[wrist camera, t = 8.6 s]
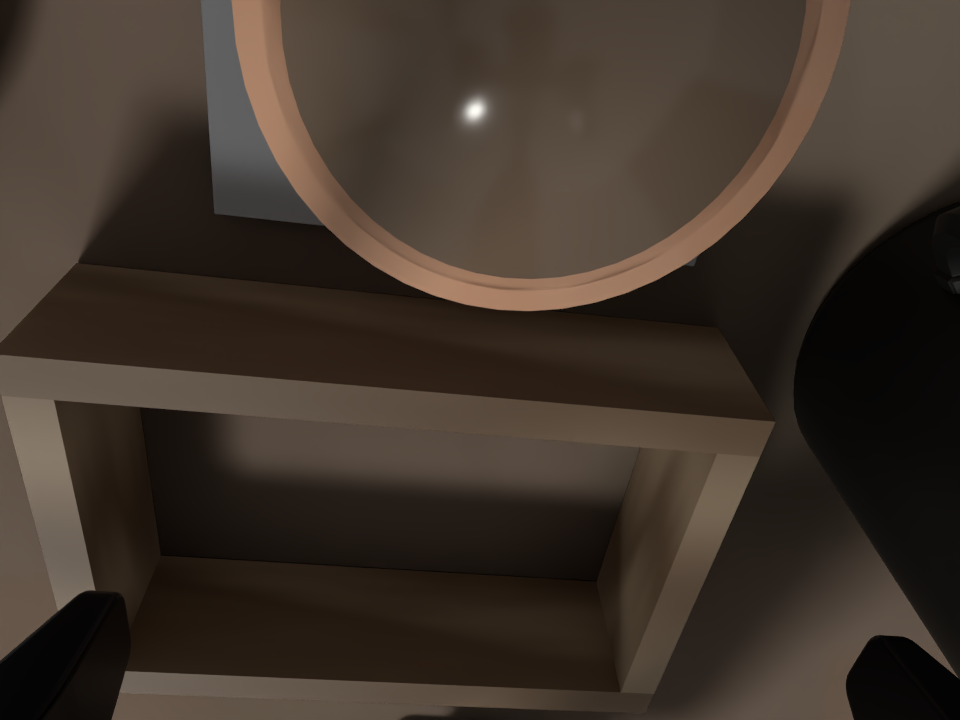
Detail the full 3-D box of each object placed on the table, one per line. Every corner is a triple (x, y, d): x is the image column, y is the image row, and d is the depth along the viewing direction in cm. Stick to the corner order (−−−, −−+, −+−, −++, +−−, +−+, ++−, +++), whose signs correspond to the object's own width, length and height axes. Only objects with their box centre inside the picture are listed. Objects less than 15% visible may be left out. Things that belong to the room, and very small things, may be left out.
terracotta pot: (625, 166, 16) (734, 335, 10) (316, 126, 15) (240, 285, 9) (722, -214, 12) (978, -293, 7) (325, -291, 12) (213, -460, 6)
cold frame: (618, 602, 25) (645, 713, 22) (130, 575, 23) (79, 691, 20) (717, 327, 19) (775, 421, 16) (76, 262, 18) (-10, 354, 14)
